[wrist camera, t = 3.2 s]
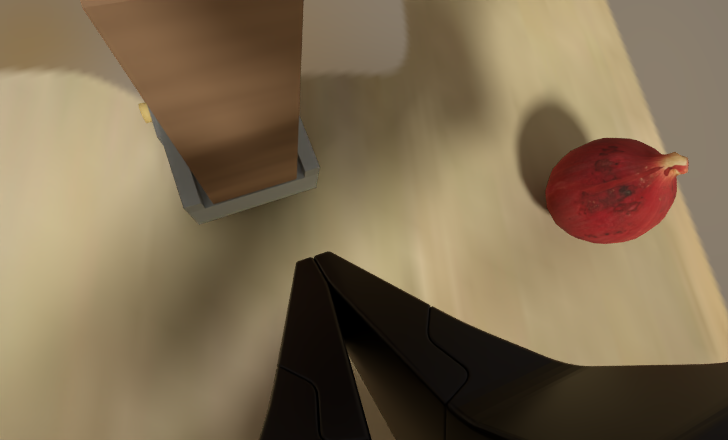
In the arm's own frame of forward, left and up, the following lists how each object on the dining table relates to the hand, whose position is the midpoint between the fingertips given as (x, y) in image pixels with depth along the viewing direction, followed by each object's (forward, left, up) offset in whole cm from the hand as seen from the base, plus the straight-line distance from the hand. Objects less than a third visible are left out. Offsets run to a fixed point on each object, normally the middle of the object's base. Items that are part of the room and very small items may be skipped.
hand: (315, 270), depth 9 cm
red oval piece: (-9, -15, -12) cm, 21 cm away
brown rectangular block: (+7, -3, -7) cm, 11 cm away
